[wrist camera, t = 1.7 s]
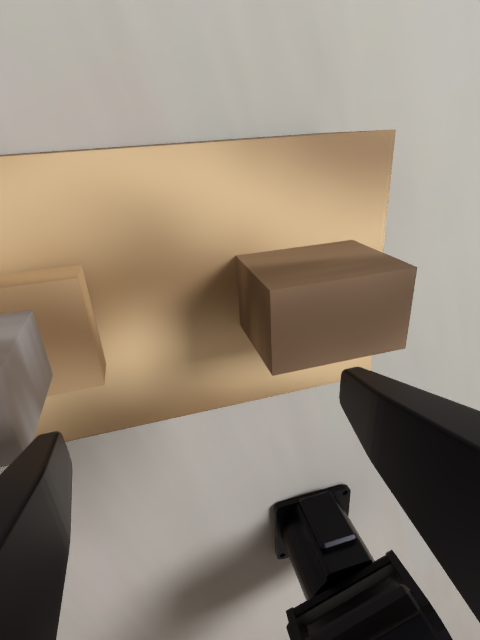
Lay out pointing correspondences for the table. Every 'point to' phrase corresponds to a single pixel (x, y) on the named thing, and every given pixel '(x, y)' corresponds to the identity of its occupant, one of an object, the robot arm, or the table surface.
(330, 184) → the lid
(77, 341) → the block
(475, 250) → the table surface
